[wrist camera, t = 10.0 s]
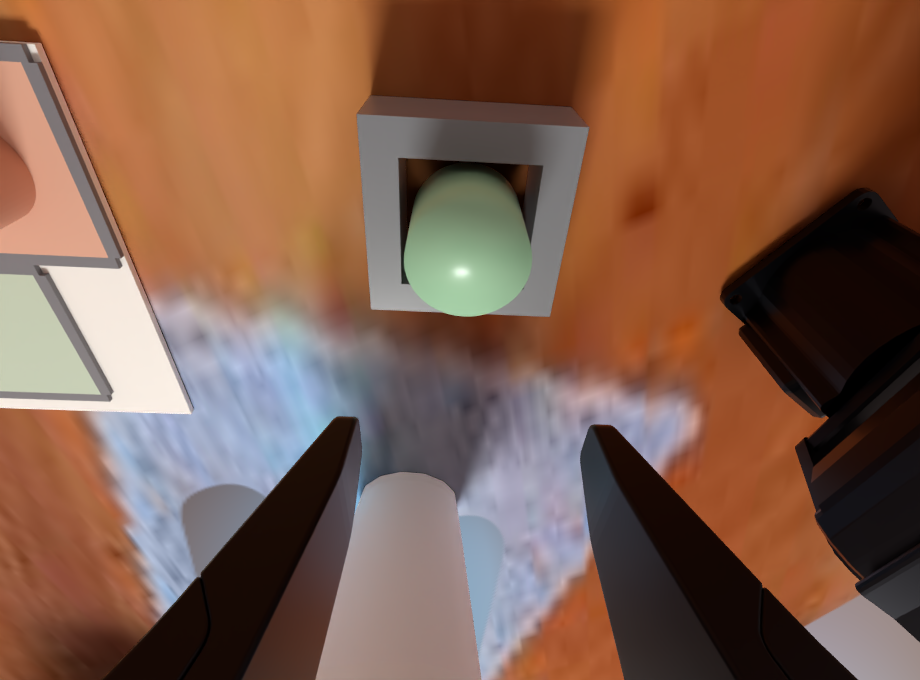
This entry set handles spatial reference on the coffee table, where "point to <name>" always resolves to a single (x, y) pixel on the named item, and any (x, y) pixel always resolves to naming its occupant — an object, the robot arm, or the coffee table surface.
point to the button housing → (474, 140)
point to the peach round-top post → (14, 186)
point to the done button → (467, 241)
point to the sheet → (70, 271)
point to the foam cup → (403, 588)
